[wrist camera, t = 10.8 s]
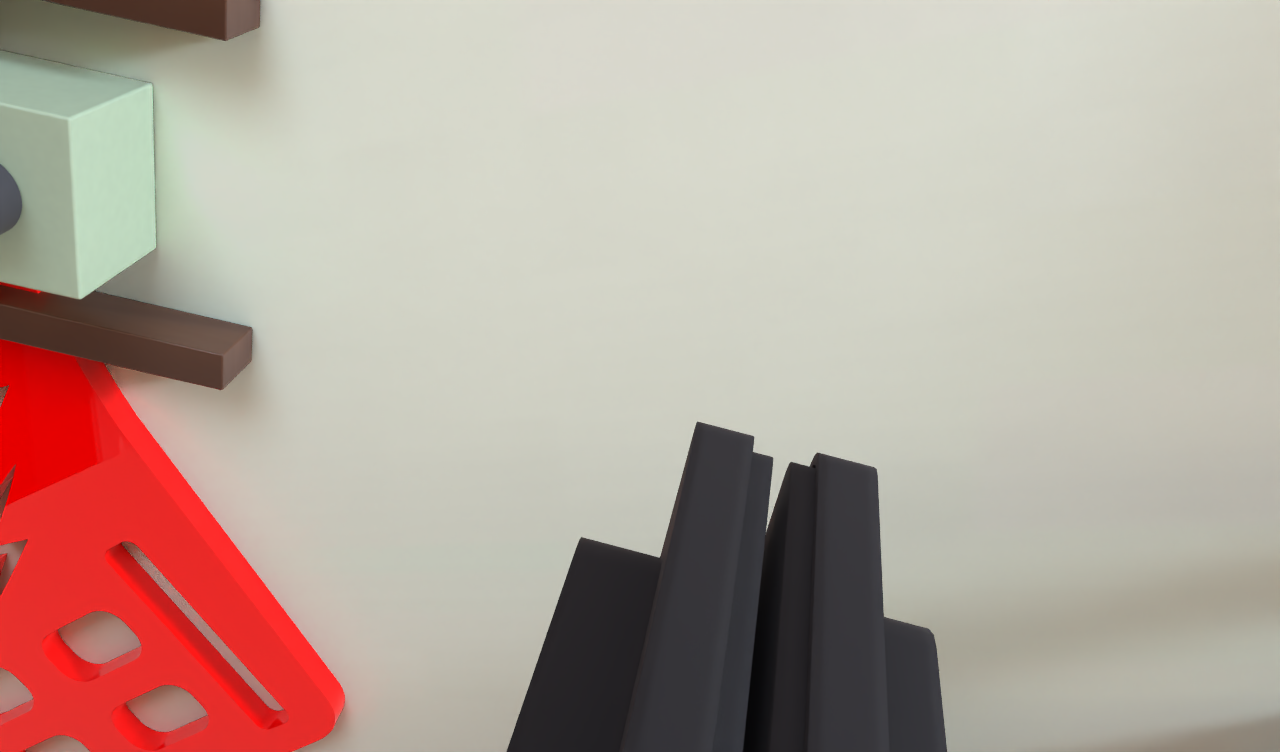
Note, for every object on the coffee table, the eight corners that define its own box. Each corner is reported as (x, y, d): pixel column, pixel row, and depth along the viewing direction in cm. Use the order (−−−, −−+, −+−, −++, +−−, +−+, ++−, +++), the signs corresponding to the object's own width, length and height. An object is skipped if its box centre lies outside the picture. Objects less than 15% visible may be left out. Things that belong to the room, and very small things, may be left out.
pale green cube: (-20, 44, 31) (-161, 86, 27) (153, 82, 31) (40, 131, 27) (-4, 212, 34) (-132, 277, 29) (157, 248, 34) (53, 319, 29)
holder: (-74, -92, 30) (-130, -86, 28) (261, -19, 30) (226, -8, 28) (-33, 295, 35) (-77, 321, 33) (252, 361, 35) (222, 391, 33)
